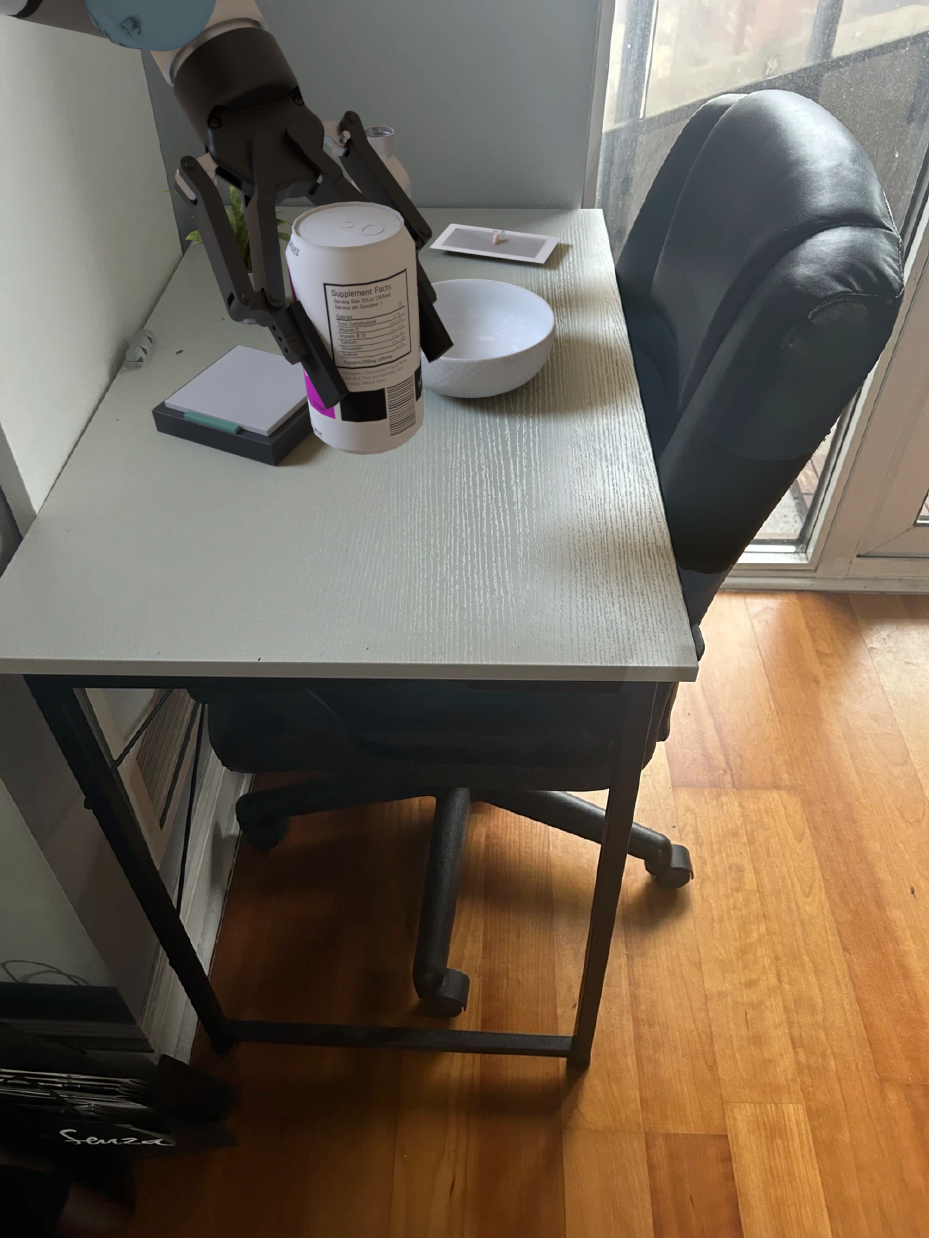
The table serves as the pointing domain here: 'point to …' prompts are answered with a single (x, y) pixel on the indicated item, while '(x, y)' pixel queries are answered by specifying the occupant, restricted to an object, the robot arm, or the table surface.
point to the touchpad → (496, 243)
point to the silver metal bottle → (388, 154)
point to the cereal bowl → (488, 338)
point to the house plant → (240, 234)
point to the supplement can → (361, 321)
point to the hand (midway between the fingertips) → (391, 376)
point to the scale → (241, 406)
